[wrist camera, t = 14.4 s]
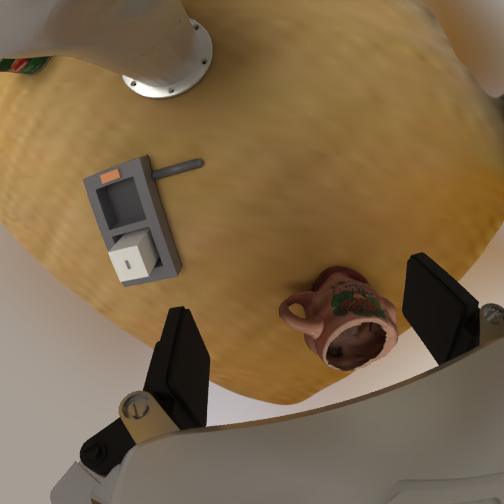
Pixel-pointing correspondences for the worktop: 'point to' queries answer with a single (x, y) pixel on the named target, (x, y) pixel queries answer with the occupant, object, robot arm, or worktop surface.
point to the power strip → (136, 209)
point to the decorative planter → (344, 320)
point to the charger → (134, 255)
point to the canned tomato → (23, 65)
